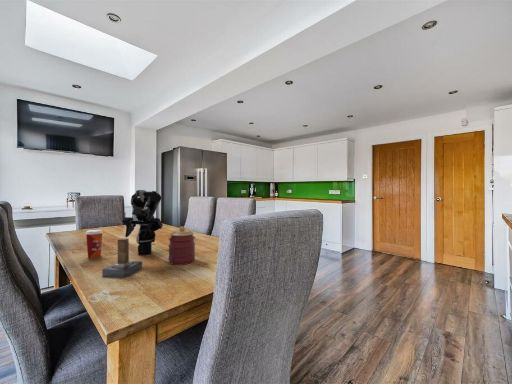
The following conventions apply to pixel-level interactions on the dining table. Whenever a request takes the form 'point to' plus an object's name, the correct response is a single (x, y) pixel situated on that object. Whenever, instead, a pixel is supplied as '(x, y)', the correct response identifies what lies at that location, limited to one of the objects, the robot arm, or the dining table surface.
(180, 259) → the canister
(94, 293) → the dining table surface
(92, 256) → the paper cup
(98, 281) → the dining table surface
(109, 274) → the holder block
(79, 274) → the dining table surface
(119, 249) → the slot cleaner tool
